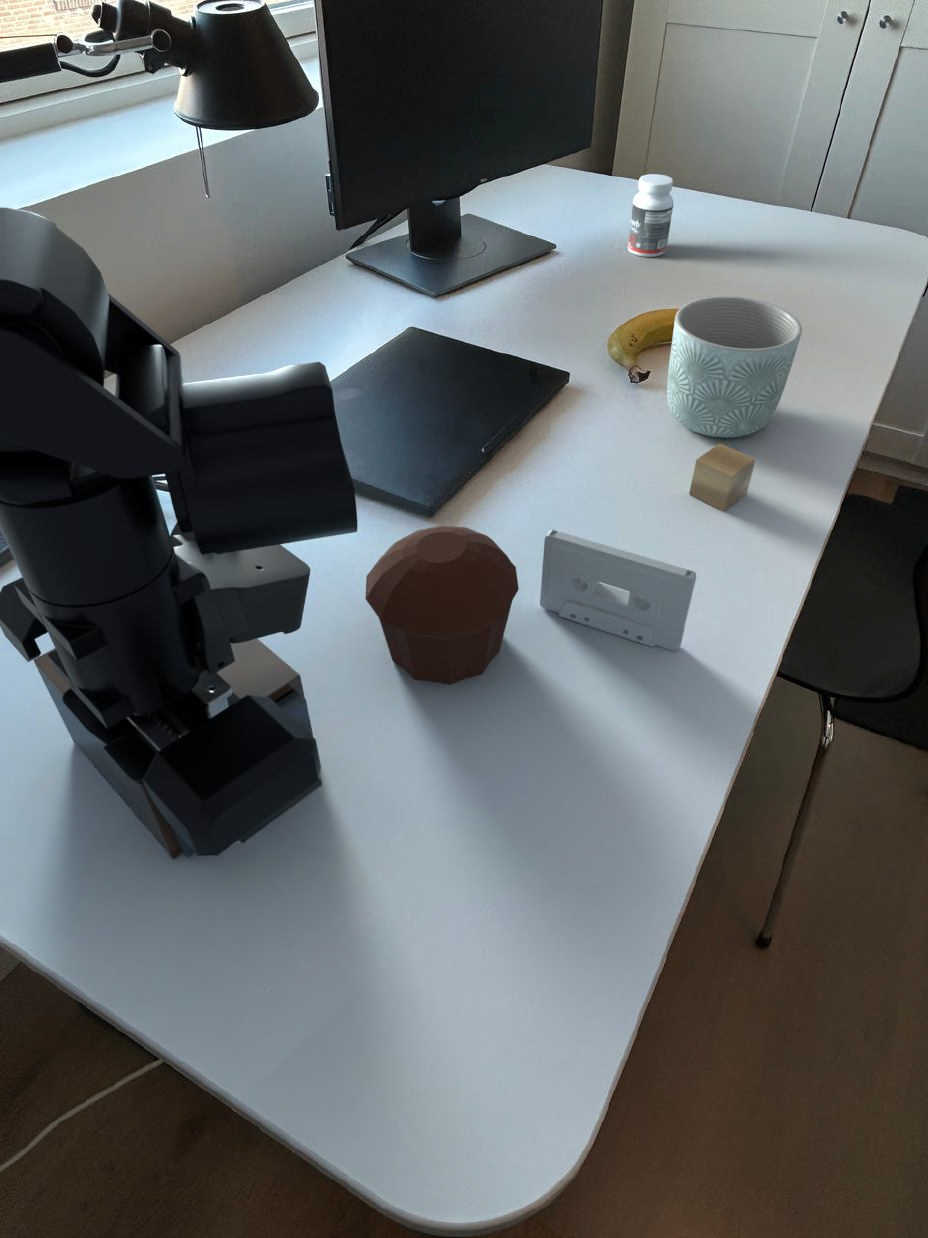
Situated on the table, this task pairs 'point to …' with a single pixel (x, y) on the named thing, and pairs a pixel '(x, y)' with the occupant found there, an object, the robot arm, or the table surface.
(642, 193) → the pill bottle
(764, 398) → the planter
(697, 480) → the oak block
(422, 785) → the table surface
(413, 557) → the muffin
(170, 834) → the cabinet
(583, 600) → the cassette
